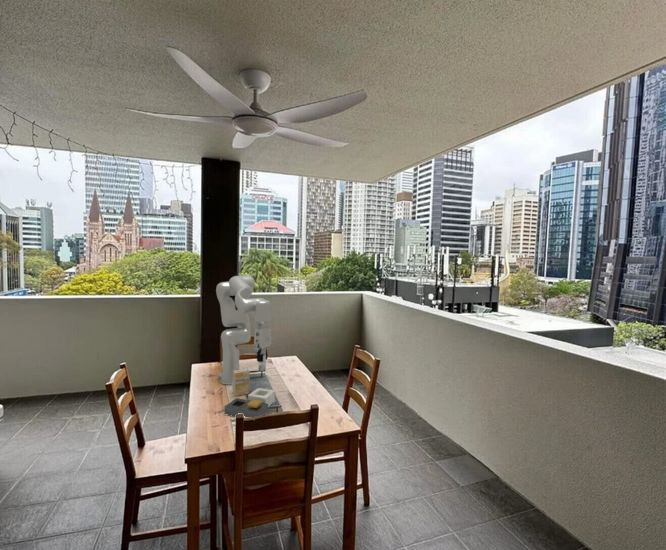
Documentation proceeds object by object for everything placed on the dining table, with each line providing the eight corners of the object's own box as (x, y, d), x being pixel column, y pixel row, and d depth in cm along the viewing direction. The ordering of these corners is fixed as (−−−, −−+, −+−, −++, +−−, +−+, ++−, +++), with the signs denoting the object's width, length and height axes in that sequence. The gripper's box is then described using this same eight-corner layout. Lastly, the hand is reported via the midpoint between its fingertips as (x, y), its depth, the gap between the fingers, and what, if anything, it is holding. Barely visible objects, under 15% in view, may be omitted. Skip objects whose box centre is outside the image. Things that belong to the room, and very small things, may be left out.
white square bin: (247, 406, 170) (247, 395, 170) (258, 398, 180) (258, 387, 180) (265, 410, 167) (265, 398, 167) (274, 401, 177) (275, 390, 177)
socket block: (224, 414, 162) (224, 406, 161) (236, 405, 171) (236, 398, 171) (257, 421, 156) (257, 412, 156) (268, 411, 166) (268, 403, 166)
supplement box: (234, 397, 182) (234, 373, 181) (232, 393, 186) (232, 370, 185) (249, 394, 186) (249, 370, 185) (247, 390, 190) (247, 368, 189)
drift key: (247, 413, 161) (247, 403, 160) (253, 409, 165) (253, 399, 165) (256, 415, 159) (256, 405, 159) (262, 410, 164) (262, 400, 164)
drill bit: (257, 370, 171) (257, 347, 171) (260, 368, 175) (261, 345, 174) (263, 371, 170) (263, 348, 169) (267, 369, 174) (267, 346, 173)
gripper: (260, 328, 162) (260, 366, 163) (276, 322, 178) (276, 356, 179) (247, 327, 164) (246, 364, 165) (264, 321, 180) (263, 355, 181)
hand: (262, 359), depth 172 cm, fingers closed on drill bit, 3 cm apart
